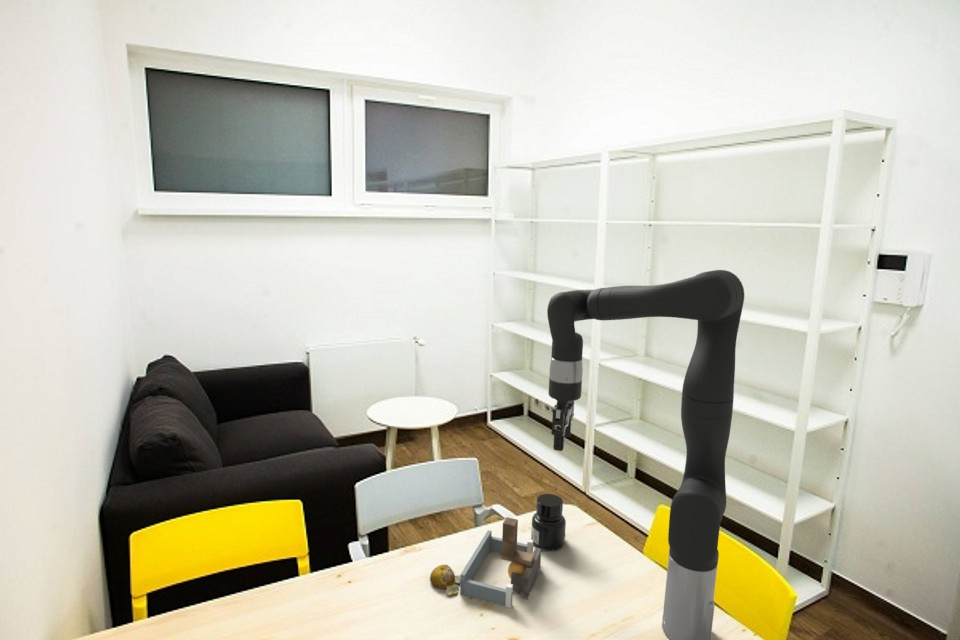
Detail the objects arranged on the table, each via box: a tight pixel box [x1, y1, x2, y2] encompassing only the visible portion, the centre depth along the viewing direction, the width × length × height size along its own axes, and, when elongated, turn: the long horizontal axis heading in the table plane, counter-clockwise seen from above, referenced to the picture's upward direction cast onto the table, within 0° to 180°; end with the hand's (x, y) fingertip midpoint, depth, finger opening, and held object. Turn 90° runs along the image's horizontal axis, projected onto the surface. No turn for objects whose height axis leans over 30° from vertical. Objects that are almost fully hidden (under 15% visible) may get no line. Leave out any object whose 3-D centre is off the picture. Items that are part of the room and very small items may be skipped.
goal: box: [459, 529, 534, 609], centre depth 129 cm, size 12×19×5 cm, turn 160°
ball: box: [507, 561, 527, 579], centre depth 128 cm, size 5×5×5 cm
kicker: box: [501, 516, 542, 600], centre depth 127 cm, size 8×12×14 cm, turn 160°
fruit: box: [429, 564, 460, 597], centre depth 126 cm, size 8×8×4 cm
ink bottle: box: [530, 493, 567, 552], centre depth 143 cm, size 10×9×12 cm
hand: (562, 443), depth 128 cm, fingers open, 8 cm apart
